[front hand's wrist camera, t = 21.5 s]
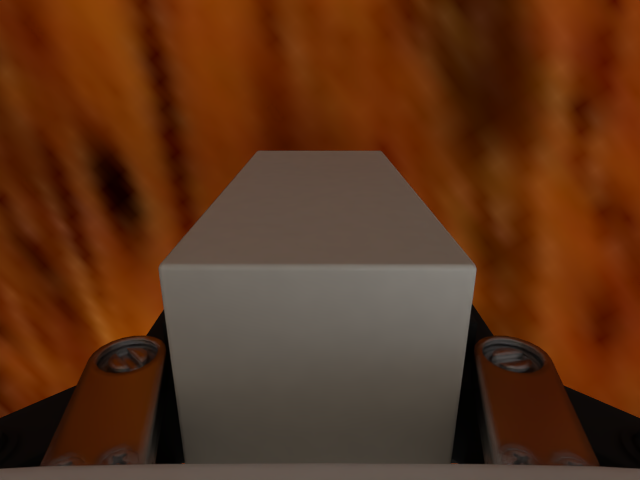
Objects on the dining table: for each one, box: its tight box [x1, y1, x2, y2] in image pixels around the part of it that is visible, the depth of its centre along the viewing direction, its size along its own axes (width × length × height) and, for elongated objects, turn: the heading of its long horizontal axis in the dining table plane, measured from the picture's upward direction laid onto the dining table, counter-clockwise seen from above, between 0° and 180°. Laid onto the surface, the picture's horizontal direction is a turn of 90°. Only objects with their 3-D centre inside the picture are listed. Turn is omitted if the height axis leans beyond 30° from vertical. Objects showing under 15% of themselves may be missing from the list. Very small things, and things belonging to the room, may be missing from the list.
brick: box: [159, 151, 476, 464], centre depth 12 cm, size 4×7×10 cm, turn 0°
